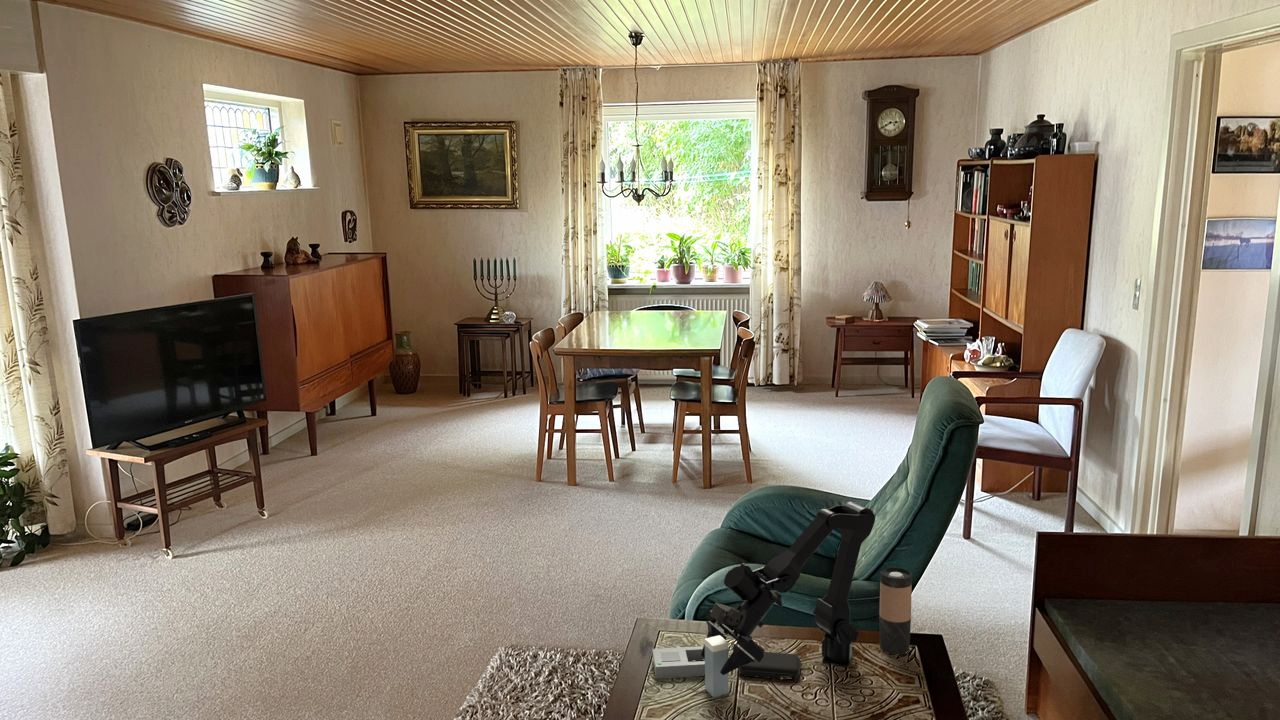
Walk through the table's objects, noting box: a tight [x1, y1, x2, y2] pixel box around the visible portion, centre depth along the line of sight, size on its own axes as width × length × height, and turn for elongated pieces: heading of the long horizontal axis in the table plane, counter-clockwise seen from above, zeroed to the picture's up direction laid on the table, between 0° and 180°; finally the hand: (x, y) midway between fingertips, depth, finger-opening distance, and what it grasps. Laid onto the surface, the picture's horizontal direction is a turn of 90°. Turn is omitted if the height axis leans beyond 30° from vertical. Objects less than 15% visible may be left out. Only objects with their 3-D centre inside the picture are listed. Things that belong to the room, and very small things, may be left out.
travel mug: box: [878, 566, 913, 655], centre depth 221 cm, size 8×8×20 cm
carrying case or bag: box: [737, 651, 802, 681], centre depth 212 cm, size 11×3×15 cm
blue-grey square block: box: [704, 635, 730, 698], centre depth 202 cm, size 4×4×12 cm
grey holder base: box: [652, 645, 705, 680], centre depth 214 cm, size 16×9×3 cm, turn 94°
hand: (711, 664), depth 202 cm, fingers open, 9 cm apart
